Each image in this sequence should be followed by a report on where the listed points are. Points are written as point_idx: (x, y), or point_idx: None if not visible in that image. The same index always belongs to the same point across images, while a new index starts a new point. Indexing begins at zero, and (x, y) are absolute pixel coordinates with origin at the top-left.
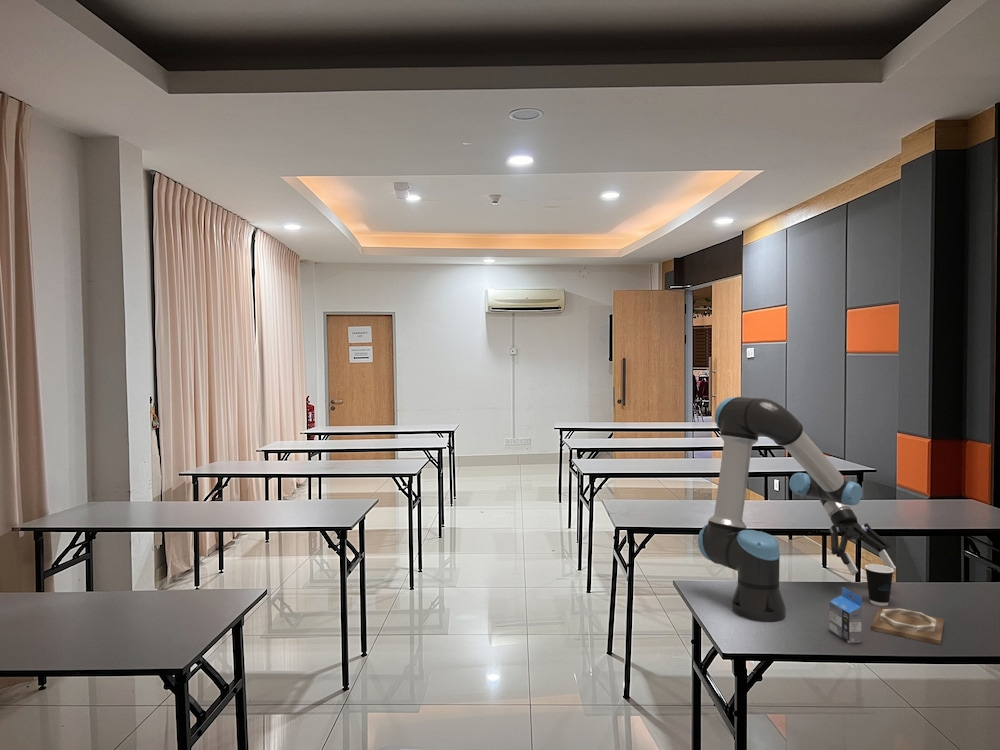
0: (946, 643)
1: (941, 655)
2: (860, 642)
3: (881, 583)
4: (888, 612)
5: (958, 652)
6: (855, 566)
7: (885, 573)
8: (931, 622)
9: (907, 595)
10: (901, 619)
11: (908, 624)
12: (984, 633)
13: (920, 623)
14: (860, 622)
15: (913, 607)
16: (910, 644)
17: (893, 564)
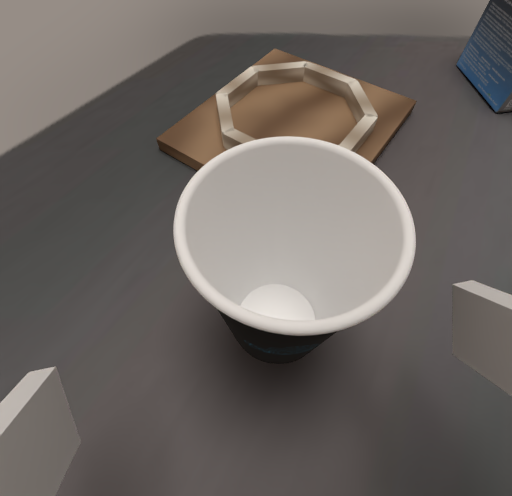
0: None
1: (302, 33)
2: (458, 62)
3: (303, 210)
4: None
5: (258, 40)
6: (494, 299)
7: (290, 149)
8: (244, 81)
9: None
10: (301, 133)
11: (321, 71)
12: (106, 102)
13: (259, 113)
14: (489, 5)
15: (150, 272)
16: (342, 61)
17: (6, 400)
